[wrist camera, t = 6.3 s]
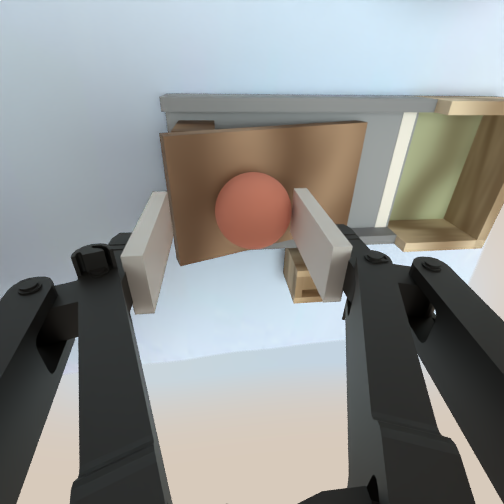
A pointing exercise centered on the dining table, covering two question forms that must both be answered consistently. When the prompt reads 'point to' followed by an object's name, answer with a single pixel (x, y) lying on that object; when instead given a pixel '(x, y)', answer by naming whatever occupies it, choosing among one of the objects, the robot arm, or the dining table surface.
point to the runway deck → (320, 111)
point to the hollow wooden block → (299, 278)
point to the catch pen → (452, 176)
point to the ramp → (253, 160)
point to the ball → (253, 210)
